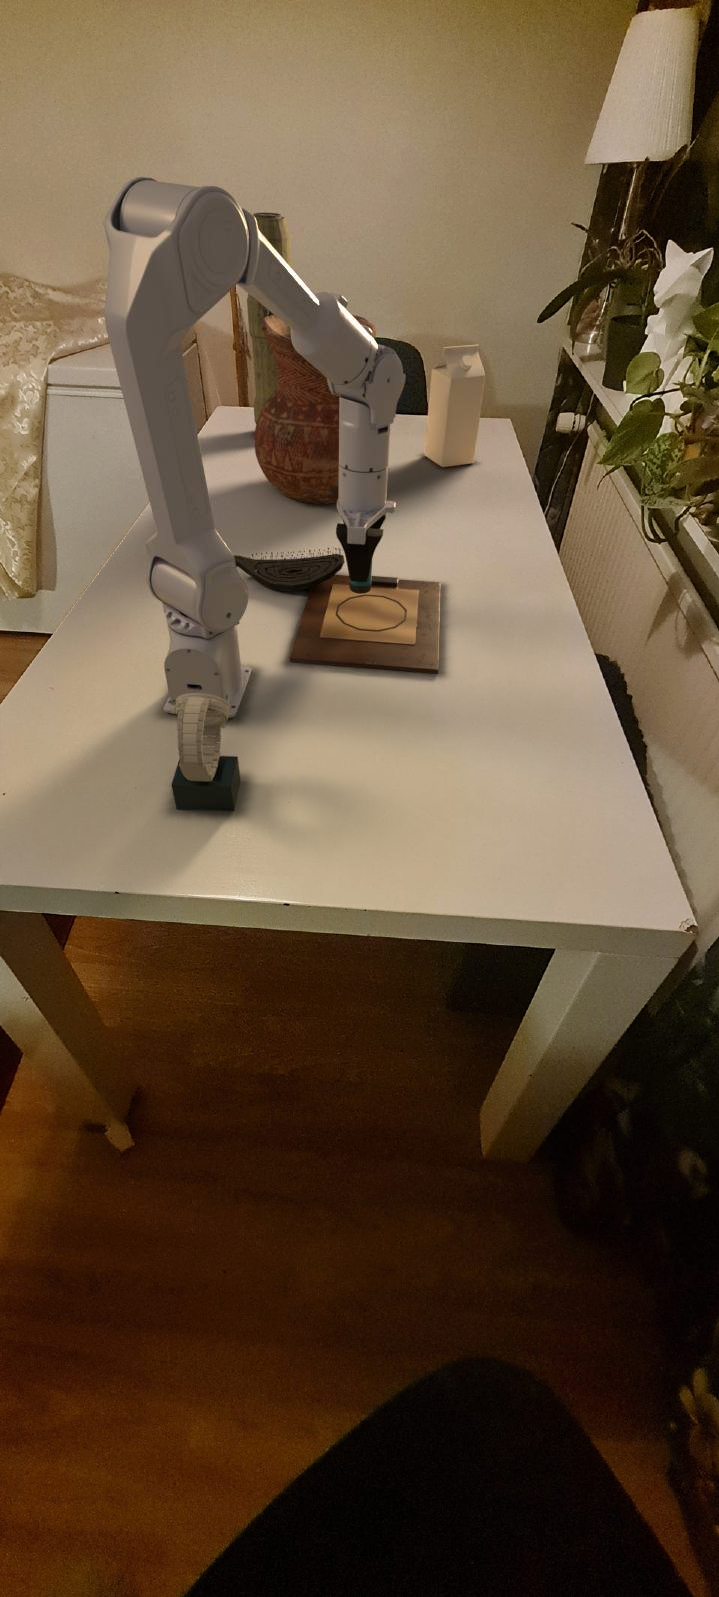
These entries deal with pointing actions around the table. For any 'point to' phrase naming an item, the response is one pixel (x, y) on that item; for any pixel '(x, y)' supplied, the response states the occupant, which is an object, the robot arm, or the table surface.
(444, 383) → the milk carton
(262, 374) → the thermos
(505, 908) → the table surface
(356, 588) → the dot marker
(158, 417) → the robot arm
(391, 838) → the table surface
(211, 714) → the watch
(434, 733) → the table surface
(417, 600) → the clipboard
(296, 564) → the hairbrush
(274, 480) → the jug
